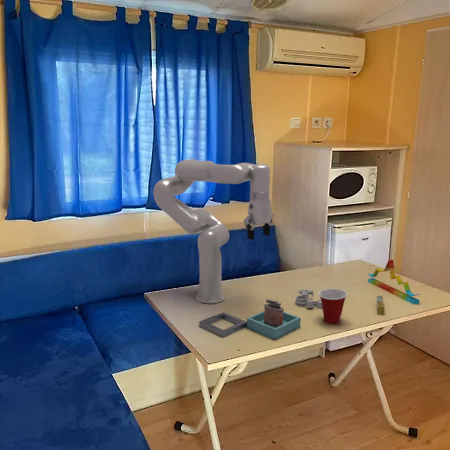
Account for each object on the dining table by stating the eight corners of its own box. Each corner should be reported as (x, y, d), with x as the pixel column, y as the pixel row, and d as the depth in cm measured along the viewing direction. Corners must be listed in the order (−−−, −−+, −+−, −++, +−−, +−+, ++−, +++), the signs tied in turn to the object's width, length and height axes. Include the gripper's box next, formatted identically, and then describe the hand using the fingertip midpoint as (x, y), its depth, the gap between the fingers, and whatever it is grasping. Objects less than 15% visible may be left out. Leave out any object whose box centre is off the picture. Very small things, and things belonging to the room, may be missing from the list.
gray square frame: (199, 326, 183) (199, 321, 182) (223, 316, 192) (223, 311, 191) (223, 337, 174) (223, 332, 173) (247, 326, 183) (247, 321, 182)
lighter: (284, 326, 181) (285, 301, 179) (280, 329, 178) (281, 304, 176) (266, 320, 186) (267, 296, 183) (261, 323, 183) (262, 299, 181)
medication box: (375, 304, 206) (376, 295, 206) (382, 304, 206) (383, 295, 205) (377, 315, 195) (377, 306, 194) (383, 315, 194) (384, 306, 194)
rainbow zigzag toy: (419, 304, 207) (423, 271, 204) (413, 305, 206) (417, 272, 202) (373, 281, 234) (375, 252, 231) (367, 282, 233) (370, 253, 230)
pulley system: (314, 320, 192) (345, 312, 198) (314, 308, 191) (345, 301, 196) (280, 298, 216) (308, 292, 222) (279, 288, 215) (308, 282, 221)
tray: (246, 327, 182) (246, 318, 181) (271, 316, 192) (272, 307, 191) (275, 340, 172) (275, 329, 171) (300, 327, 182) (300, 317, 181)
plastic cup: (315, 315, 194) (316, 287, 191) (342, 315, 193) (343, 287, 191) (319, 326, 183) (321, 297, 180) (347, 327, 183) (349, 298, 180)
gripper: (252, 199, 183) (251, 242, 187) (280, 194, 195) (279, 235, 199) (238, 196, 188) (237, 239, 192) (266, 192, 200) (265, 231, 204)
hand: (258, 237), depth 195 cm, fingers open, 9 cm apart
